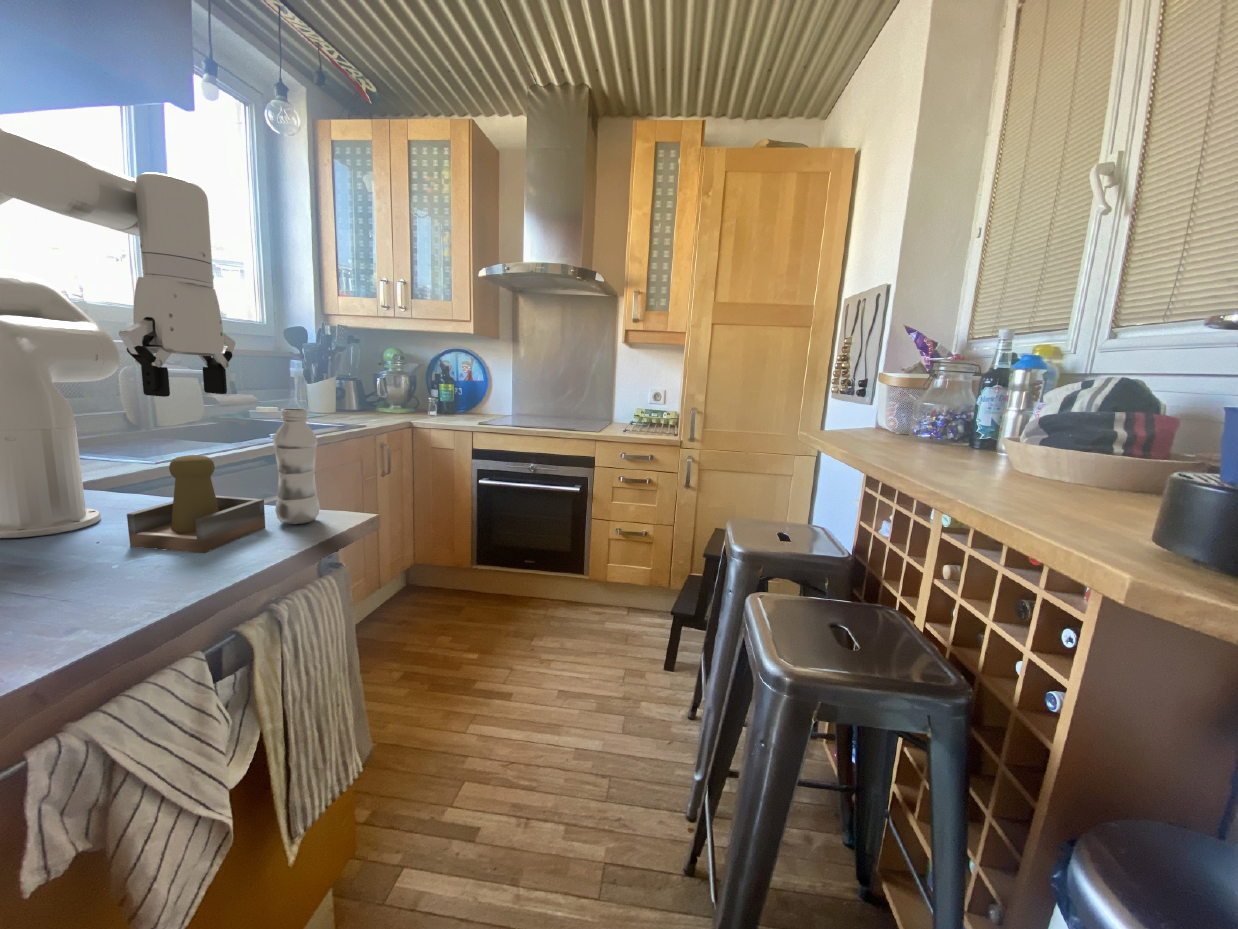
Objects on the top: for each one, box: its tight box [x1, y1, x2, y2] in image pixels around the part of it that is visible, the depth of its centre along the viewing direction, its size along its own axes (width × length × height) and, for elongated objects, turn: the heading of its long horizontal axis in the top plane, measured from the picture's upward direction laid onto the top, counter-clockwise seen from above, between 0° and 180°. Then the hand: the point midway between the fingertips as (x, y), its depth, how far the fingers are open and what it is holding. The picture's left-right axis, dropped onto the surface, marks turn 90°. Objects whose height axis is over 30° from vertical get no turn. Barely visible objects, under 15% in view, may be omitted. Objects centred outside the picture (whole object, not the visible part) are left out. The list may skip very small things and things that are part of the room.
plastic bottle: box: [272, 407, 320, 525], centre depth 85 cm, size 6×7×20 cm
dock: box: [126, 494, 266, 554], centre depth 77 cm, size 11×12×5 cm
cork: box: [168, 454, 219, 532], centre depth 75 cm, size 6×6×11 cm
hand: (188, 394), depth 73 cm, fingers open, 9 cm apart
